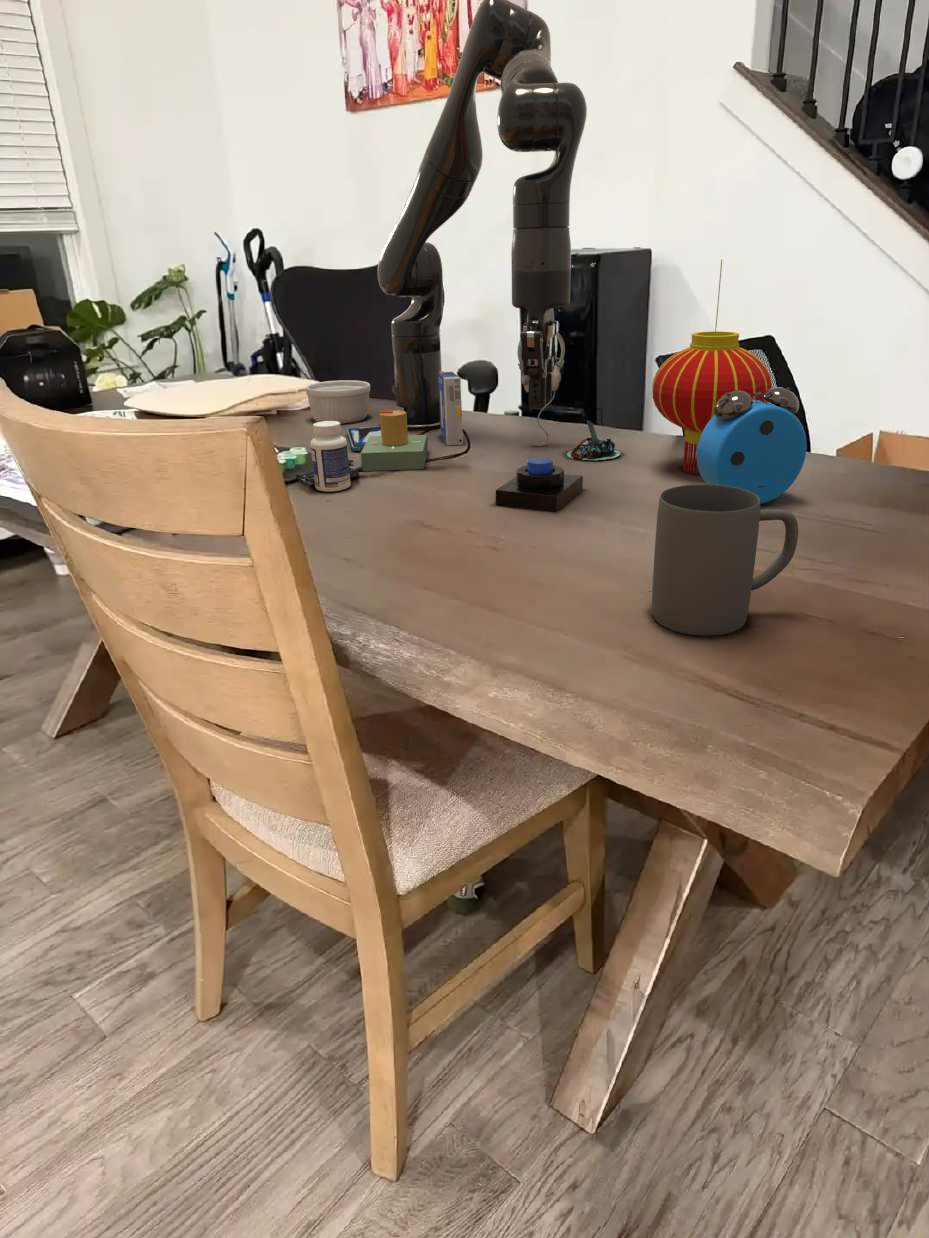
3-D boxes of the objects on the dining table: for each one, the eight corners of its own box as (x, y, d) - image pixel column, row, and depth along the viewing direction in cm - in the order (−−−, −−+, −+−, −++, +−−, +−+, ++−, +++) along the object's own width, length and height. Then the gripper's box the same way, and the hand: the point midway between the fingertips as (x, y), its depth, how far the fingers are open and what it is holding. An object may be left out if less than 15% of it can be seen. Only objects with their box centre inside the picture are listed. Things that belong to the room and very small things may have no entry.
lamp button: (533, 468, 121) (532, 456, 120) (556, 470, 119) (556, 458, 118) (523, 475, 118) (523, 462, 117) (547, 477, 116) (547, 464, 116)
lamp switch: (525, 484, 126) (525, 458, 125) (582, 490, 123) (583, 463, 121) (495, 505, 117) (495, 477, 116) (556, 512, 114) (556, 483, 112)
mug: (669, 641, 77) (679, 515, 72) (638, 602, 86) (644, 487, 81) (810, 628, 79) (829, 504, 74) (765, 591, 87) (780, 477, 82)
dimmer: (370, 453, 148) (369, 435, 146) (427, 451, 147) (426, 433, 146) (362, 471, 137) (360, 451, 135) (423, 469, 137) (422, 450, 135)
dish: (612, 447, 135) (588, 414, 138) (578, 476, 138) (556, 443, 141) (632, 460, 142) (609, 428, 145) (599, 488, 145) (577, 456, 148)
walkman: (440, 436, 158) (437, 370, 153) (455, 435, 158) (452, 369, 153) (447, 446, 151) (444, 377, 146) (463, 444, 151) (460, 376, 146)
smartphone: (352, 447, 148) (346, 428, 162) (352, 453, 149) (346, 433, 162) (393, 444, 150) (384, 425, 163) (394, 449, 150) (385, 430, 163)
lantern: (784, 468, 129) (811, 256, 117) (715, 491, 120) (737, 263, 107) (693, 450, 142) (709, 256, 129) (624, 470, 132) (633, 262, 119)
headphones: (559, 441, 151) (560, 324, 143) (567, 446, 148) (569, 326, 139) (515, 445, 149) (514, 327, 141) (522, 450, 146) (521, 329, 138)
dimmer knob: (409, 439, 143) (407, 408, 140) (406, 445, 139) (404, 413, 136) (383, 440, 143) (381, 408, 141) (380, 446, 139) (377, 414, 137)
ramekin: (377, 412, 182) (375, 379, 179) (365, 425, 170) (363, 390, 167) (317, 413, 183) (314, 380, 180) (301, 426, 171) (297, 391, 168)
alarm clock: (776, 490, 119) (789, 381, 113) (801, 502, 114) (817, 389, 108) (691, 499, 117) (700, 389, 110) (713, 512, 111) (724, 396, 105)
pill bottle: (357, 484, 130) (351, 420, 125) (338, 494, 125) (332, 428, 121) (328, 481, 132) (321, 418, 128) (308, 490, 127) (300, 426, 123)
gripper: (560, 269, 100) (558, 415, 107) (579, 264, 113) (576, 395, 120) (499, 270, 102) (501, 414, 109) (523, 265, 115) (524, 394, 122)
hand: (540, 403), depth 114 cm, fingers open, 3 cm apart
